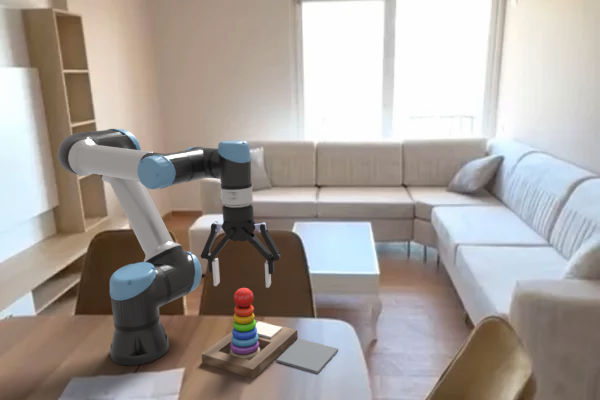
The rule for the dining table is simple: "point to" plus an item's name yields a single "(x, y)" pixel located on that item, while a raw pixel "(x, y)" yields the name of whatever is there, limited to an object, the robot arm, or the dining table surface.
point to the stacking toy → (244, 326)
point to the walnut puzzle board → (273, 344)
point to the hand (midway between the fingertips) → (242, 284)
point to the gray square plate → (307, 355)
